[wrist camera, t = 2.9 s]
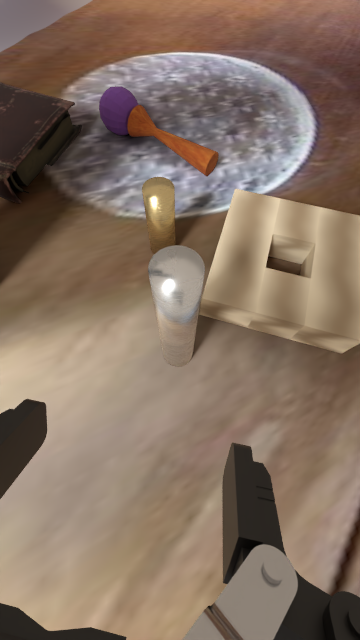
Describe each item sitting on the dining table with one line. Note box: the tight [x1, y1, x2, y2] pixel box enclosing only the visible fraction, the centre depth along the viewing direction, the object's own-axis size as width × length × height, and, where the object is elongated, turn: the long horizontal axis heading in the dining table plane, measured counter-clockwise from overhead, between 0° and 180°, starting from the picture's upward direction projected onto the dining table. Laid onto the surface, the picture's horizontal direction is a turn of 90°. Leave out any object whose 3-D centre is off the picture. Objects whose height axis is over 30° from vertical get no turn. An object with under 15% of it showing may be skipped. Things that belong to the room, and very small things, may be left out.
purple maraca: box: [99, 87, 218, 176], centre depth 42 cm, size 6×6×20 cm
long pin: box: [148, 245, 205, 367], centre depth 23 cm, size 3×3×16 cm
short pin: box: [142, 177, 175, 254], centre depth 32 cm, size 3×3×9 cm
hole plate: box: [199, 189, 360, 354], centre depth 33 cm, size 16×16×4 cm
